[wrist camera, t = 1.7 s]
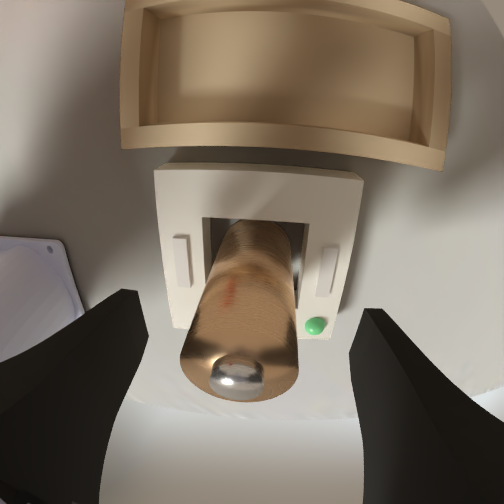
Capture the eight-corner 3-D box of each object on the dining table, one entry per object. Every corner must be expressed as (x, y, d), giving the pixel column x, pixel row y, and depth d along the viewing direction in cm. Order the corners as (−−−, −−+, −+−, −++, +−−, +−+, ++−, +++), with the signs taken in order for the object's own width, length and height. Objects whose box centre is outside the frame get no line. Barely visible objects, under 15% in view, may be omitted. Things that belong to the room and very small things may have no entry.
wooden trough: (145, 141, 11) (121, 149, 9) (148, 9, 8) (126, -5, 6) (418, 160, 11) (442, 171, 9) (424, 29, 8) (449, 19, 6)
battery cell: (222, 276, 14) (184, 407, 8) (221, 215, 13) (165, 336, 6) (287, 281, 14) (290, 418, 7) (293, 220, 13) (309, 348, 6)
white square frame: (181, 309, 15) (170, 333, 14) (167, 162, 12) (148, 172, 10) (326, 320, 15) (330, 346, 13) (354, 172, 11) (368, 184, 9)
